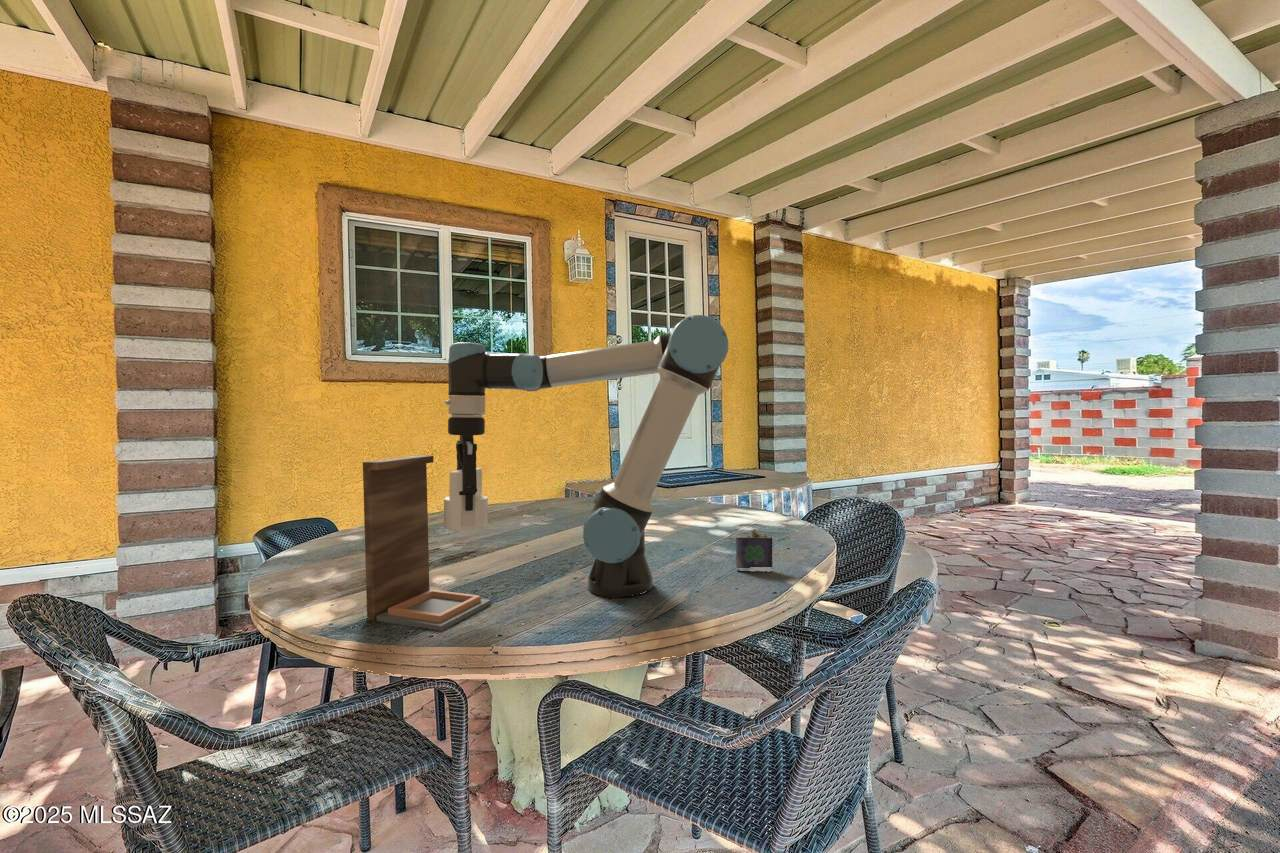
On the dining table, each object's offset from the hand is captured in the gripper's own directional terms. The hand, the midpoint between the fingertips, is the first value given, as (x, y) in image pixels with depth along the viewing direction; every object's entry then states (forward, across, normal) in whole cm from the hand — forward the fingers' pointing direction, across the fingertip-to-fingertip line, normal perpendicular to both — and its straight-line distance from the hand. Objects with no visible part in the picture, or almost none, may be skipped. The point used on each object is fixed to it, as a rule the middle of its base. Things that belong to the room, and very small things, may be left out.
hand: (465, 521), depth 127 cm
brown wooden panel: (+19, -5, -13) cm, 23 cm away
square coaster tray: (+18, +2, -6) cm, 19 cm away
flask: (+17, +3, +71) cm, 73 cm away
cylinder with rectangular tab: (+1, 0, 0) cm, 1 cm away
